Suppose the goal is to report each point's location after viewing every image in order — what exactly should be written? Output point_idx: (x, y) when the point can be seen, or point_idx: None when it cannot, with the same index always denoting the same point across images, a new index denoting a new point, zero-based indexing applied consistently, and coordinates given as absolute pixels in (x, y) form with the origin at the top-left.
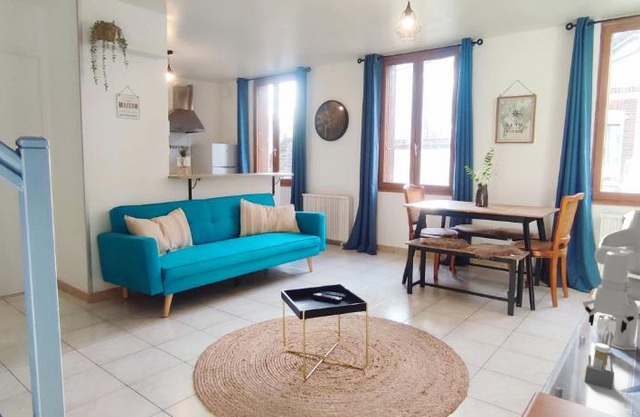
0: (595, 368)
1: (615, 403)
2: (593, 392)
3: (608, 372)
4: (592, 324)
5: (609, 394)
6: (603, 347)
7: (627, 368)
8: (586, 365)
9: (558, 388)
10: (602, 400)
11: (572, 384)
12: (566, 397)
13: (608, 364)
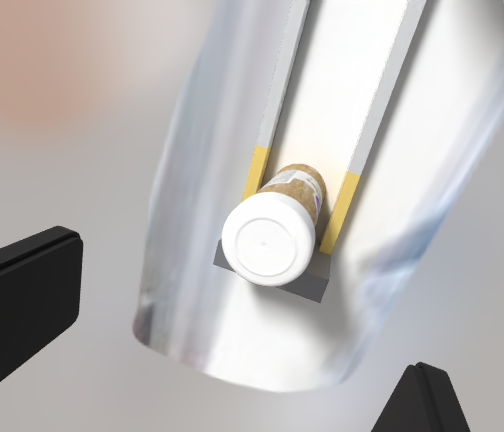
0: None
1: (301, 353)
2: (248, 303)
3: (299, 291)
4: (60, 330)
5: (301, 304)
6: (258, 280)
7: None
8: (267, 115)
9: (145, 305)
10: (263, 344)
11: (190, 269)
12: (161, 347)
13: (398, 44)
